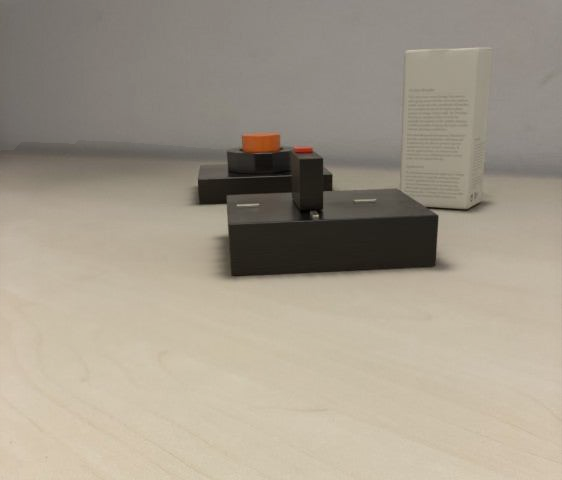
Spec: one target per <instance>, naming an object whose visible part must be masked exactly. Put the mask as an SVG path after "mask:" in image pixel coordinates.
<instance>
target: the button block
mask: <svg viewBox="0 0 562 480" xmlns="http://www.w3.org/2000/svg"><path fill="white" fill-rule="evenodd" d="M294 147H295V146H287V145H281V150H278V151H267V152H245V151H242V146H240V147H239V146H238V147H232V148H229V149H226V161H227V162H226V163H219V164H218V163H217V164H200V165H199V169H198V174H197V190H198V204H200V205H209V204H211V205H212V204H227V200H226V196H227V195H244V194H269V193H292V175H291V151H294ZM323 191H333V173H332V172H331V171H330V170H328V169H327V167H326V166H324V165H323Z"/></svg>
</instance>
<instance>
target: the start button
mask: <svg viewBox="0 0 562 480" xmlns="http://www.w3.org/2000/svg"><path fill="white" fill-rule="evenodd" d="M281 146H282V145H281V133H280V132H268V131H266V132H265V131H264V132H263V131H262V132H248V133H247V132H246V133H243V134H241V147H242V151H245V152H267V151H278V150H281Z"/></svg>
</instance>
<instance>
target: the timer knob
mask: <svg viewBox="0 0 562 480" xmlns="http://www.w3.org/2000/svg"><path fill="white" fill-rule="evenodd" d="M293 147H294V151H291V175H292V199H293V200H294V202H295V203H296V205H297V206H298V208H299V209H300V211H307V210H323V166H324V158H323V157H322V156H321V155H319V153H317V152H316V151H314V150H313V149H314V148H313V146H311V145H309V146H308V145H307V146H293Z"/></svg>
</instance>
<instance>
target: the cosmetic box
mask: <svg viewBox="0 0 562 480" xmlns="http://www.w3.org/2000/svg"><path fill="white" fill-rule="evenodd" d="M493 51H494V50H493V48H492V47H485V46H484V47H463V48H429V49H428V48H427V49H426V48H425V49H408V50H405V51H404V52H403V85H402V87H403V88H402V115H401V117H402V118H401V145H400V172H399V190H400V191H402V192H403V193H405V194H406V195H408V196H410V197H411V198H413V199H414V200H416V201H417V202H419V203H420V204H422V205H423V206H425V207H426V208H438V209H454V210H468V209H470V208H472V207H474V206H475V205H477V204H479V203H480V202H482V199H483V186H484V185H483V184H484V172H485V160H486V147H487V135H488V134H487V132H488V119H489V105H490V94H491V81H492V66H493V53H494V52H493Z"/></svg>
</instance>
